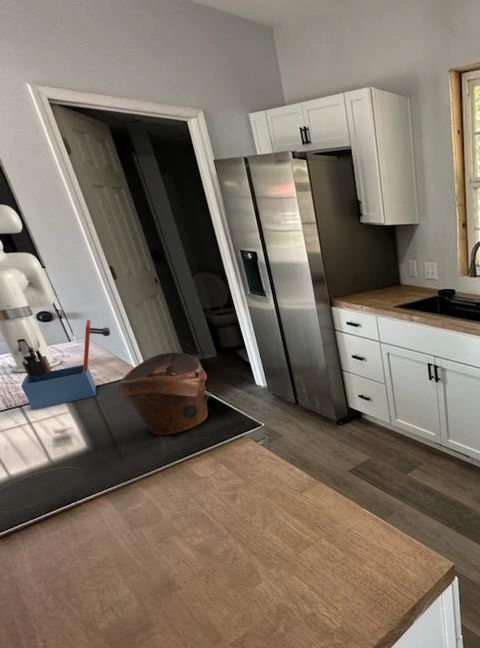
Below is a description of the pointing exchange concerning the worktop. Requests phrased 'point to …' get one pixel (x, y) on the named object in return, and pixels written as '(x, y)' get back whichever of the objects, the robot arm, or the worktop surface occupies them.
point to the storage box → (58, 387)
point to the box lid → (104, 331)
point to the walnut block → (44, 362)
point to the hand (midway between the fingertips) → (39, 372)
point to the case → (167, 392)
